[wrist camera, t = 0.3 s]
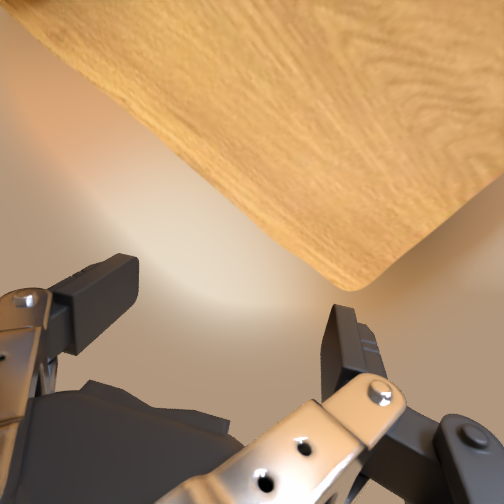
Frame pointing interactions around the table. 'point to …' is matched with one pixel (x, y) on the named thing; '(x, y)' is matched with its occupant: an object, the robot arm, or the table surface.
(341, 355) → the robot arm
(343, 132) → the table surface
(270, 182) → the table surface
